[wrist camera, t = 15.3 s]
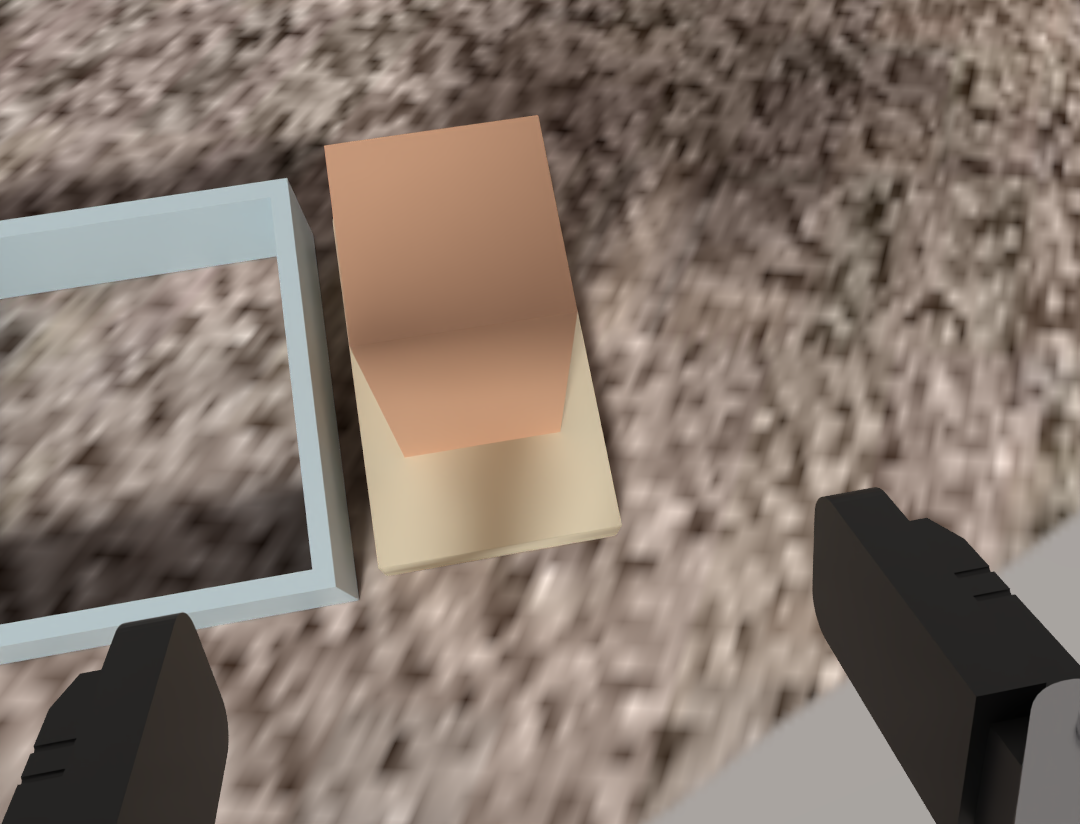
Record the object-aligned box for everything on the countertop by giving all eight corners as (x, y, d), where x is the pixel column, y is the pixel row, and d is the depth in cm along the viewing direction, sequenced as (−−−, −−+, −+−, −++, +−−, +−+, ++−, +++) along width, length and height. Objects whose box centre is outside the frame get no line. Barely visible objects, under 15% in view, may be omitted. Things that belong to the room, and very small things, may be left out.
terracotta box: (404, 457, 30) (349, 346, 21) (384, 312, 32) (324, 145, 22) (560, 431, 30) (577, 311, 21) (533, 289, 32) (537, 114, 22)
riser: (387, 576, 31) (378, 568, 29) (343, 246, 34) (332, 219, 32) (615, 535, 32) (622, 525, 30) (550, 214, 35) (551, 186, 33)
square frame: (-60, 675, 30) (-146, 672, 26) (-62, 292, 34) (-137, 241, 30) (359, 600, 31) (336, 586, 27) (313, 235, 34) (286, 177, 31)
